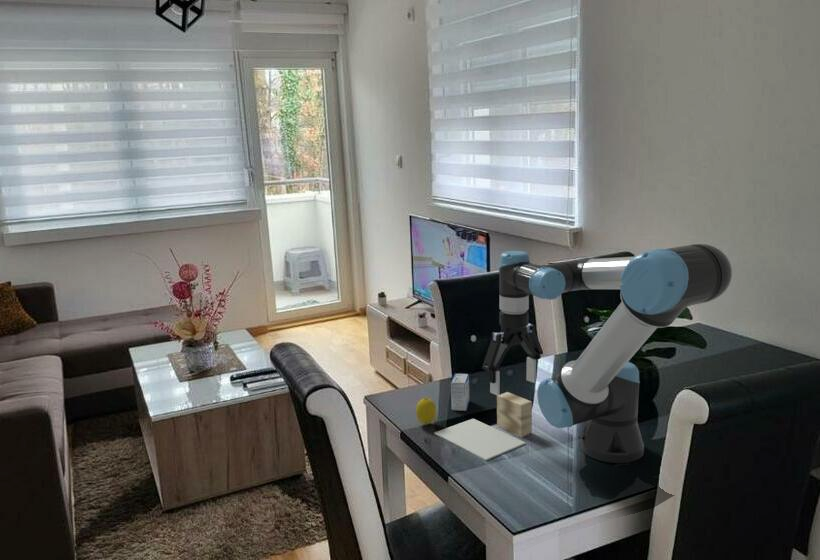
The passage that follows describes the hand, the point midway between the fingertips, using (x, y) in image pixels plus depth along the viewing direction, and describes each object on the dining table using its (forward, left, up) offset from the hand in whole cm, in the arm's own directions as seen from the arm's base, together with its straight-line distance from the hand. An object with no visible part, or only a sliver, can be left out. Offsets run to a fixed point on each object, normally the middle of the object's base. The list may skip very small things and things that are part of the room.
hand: (513, 387), depth 177 cm
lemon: (+18, +16, -12) cm, 27 cm away
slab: (0, 0, -12) cm, 12 cm away
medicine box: (+22, 0, -12) cm, 25 cm away
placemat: (+2, +11, -12) cm, 16 cm away
